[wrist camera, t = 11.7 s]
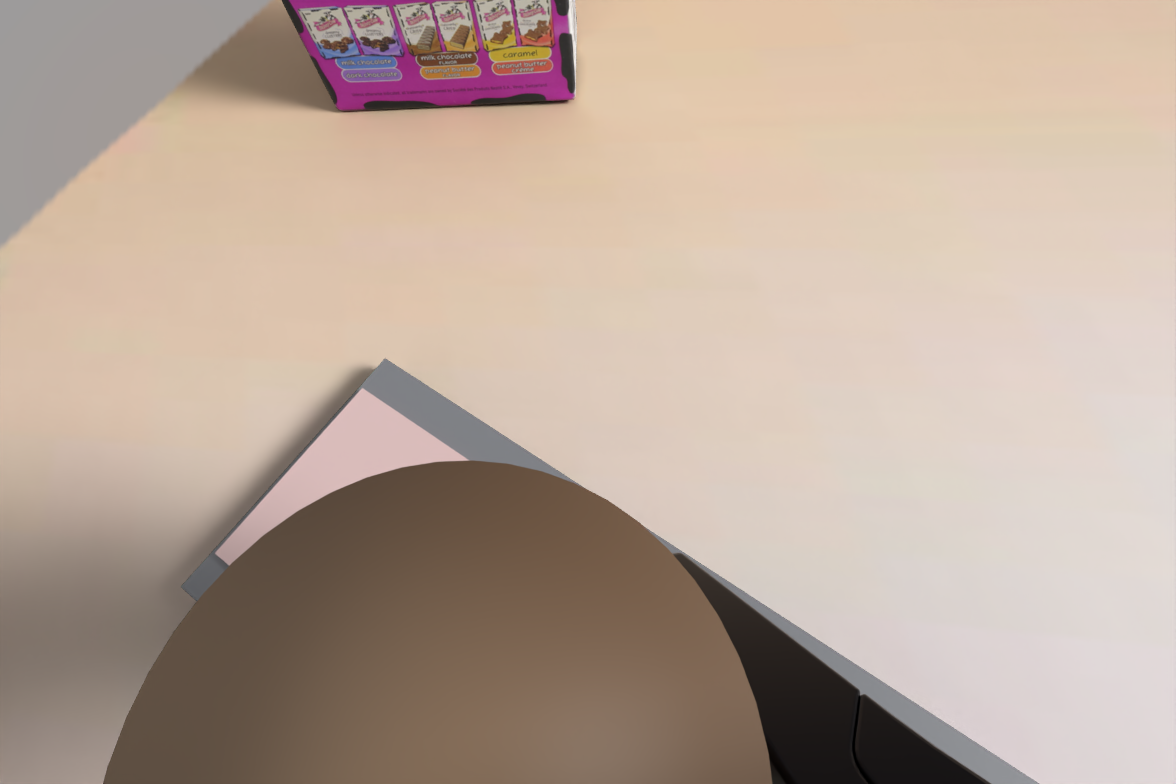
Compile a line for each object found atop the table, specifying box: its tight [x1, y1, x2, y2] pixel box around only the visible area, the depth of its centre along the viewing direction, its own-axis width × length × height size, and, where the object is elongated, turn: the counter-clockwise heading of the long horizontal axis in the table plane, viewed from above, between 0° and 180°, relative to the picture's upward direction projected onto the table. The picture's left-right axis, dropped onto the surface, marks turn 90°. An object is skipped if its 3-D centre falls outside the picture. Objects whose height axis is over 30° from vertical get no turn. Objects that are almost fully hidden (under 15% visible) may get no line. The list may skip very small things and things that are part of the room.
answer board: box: [181, 359, 1039, 784], centre depth 16 cm, size 9×22×1 cm, turn 57°
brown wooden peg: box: [103, 460, 772, 784], centre depth 9 cm, size 6×6×12 cm
